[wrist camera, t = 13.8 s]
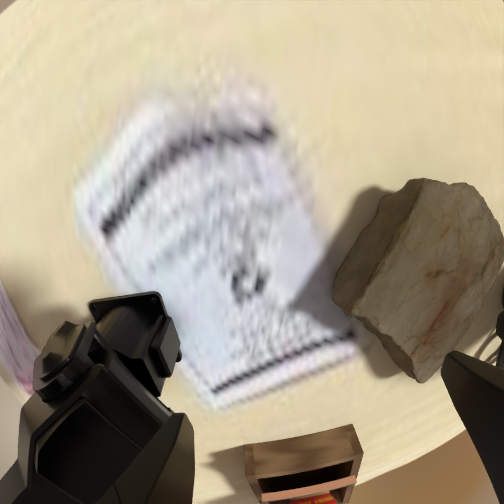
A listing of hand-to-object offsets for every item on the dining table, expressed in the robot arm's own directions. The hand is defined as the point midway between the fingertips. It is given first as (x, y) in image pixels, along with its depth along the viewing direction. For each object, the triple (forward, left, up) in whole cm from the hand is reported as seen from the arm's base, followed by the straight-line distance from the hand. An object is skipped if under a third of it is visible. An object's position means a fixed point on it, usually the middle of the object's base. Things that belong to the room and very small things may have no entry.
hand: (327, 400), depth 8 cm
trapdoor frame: (0, -31, -13) cm, 34 cm away
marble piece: (+12, -4, -14) cm, 18 cm away
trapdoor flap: (0, -31, -9) cm, 32 cm away
